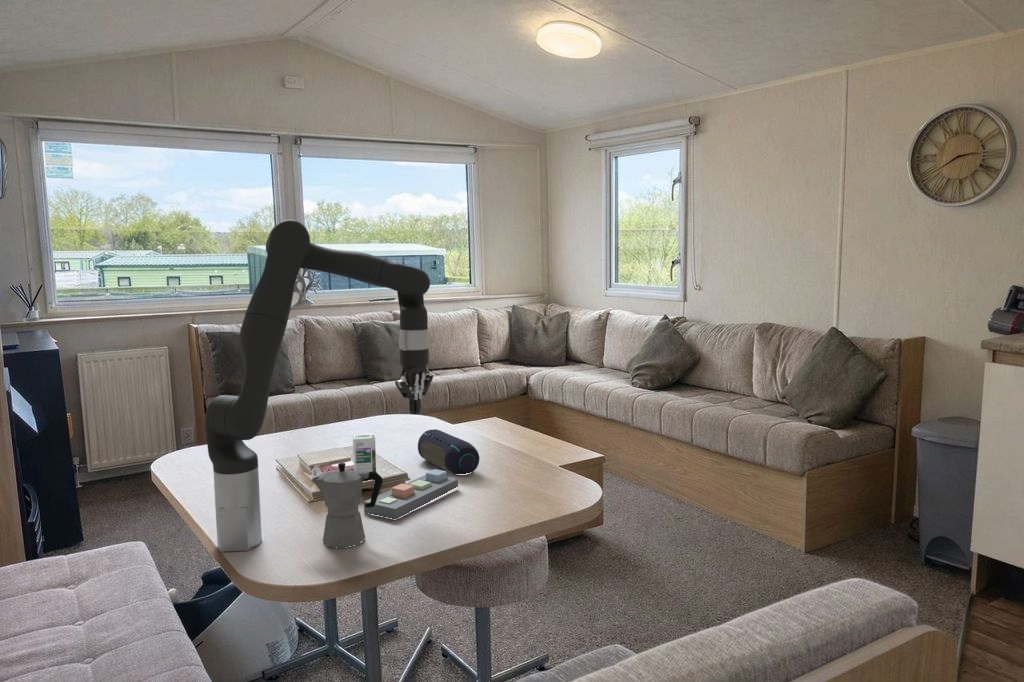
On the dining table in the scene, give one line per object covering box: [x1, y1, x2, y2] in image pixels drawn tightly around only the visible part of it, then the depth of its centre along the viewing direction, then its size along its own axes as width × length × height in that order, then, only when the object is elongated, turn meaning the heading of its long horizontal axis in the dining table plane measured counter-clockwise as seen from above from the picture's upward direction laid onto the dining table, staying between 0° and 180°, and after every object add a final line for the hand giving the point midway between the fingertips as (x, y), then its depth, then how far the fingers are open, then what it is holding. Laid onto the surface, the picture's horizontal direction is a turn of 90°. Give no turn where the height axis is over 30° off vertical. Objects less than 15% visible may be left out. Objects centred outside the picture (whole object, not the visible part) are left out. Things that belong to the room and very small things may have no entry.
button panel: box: [363, 474, 459, 519], centre depth 186 cm, size 26×10×3 cm, turn 149°
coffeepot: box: [311, 462, 384, 549], centre depth 160 cm, size 15×9×18 cm, turn 101°
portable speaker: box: [417, 429, 480, 475], centre depth 214 cm, size 25×10×10 cm, turn 35°
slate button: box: [425, 469, 448, 483], centre depth 194 cm, size 4×4×4 cm
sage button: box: [409, 480, 431, 491], centre depth 188 cm, size 4×4×4 cm
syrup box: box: [352, 432, 377, 472], centre depth 196 cm, size 6×6×14 cm
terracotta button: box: [391, 483, 414, 499], centre depth 182 cm, size 4×4×4 cm
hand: (415, 413), depth 185 cm, fingers closed
